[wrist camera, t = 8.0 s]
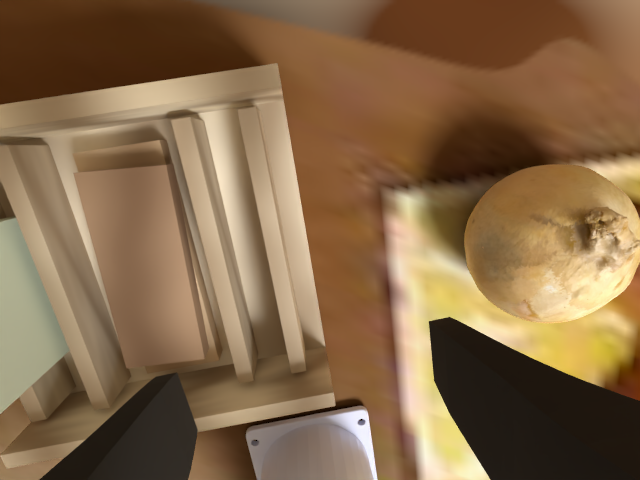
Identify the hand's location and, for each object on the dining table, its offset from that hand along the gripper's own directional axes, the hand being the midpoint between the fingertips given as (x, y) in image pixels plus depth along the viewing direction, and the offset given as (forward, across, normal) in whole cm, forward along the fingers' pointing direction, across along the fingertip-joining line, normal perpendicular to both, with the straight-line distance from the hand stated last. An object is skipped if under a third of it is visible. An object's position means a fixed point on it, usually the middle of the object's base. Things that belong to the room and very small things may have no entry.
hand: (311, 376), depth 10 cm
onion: (+11, -12, +1) cm, 16 cm away
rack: (+10, +7, -1) cm, 13 cm away
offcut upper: (+9, +7, -1) cm, 12 cm away
